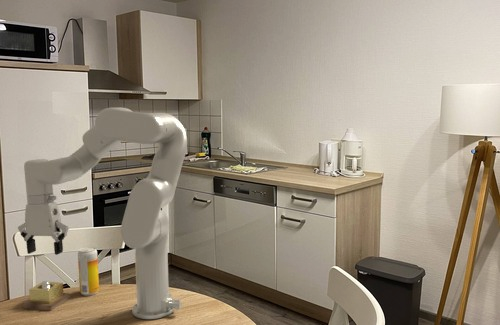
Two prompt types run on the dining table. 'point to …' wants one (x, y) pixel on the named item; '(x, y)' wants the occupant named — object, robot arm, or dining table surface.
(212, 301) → the dining table surface
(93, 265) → the beer can
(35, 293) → the square wooden frame
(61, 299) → the keeper block
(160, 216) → the robot arm
